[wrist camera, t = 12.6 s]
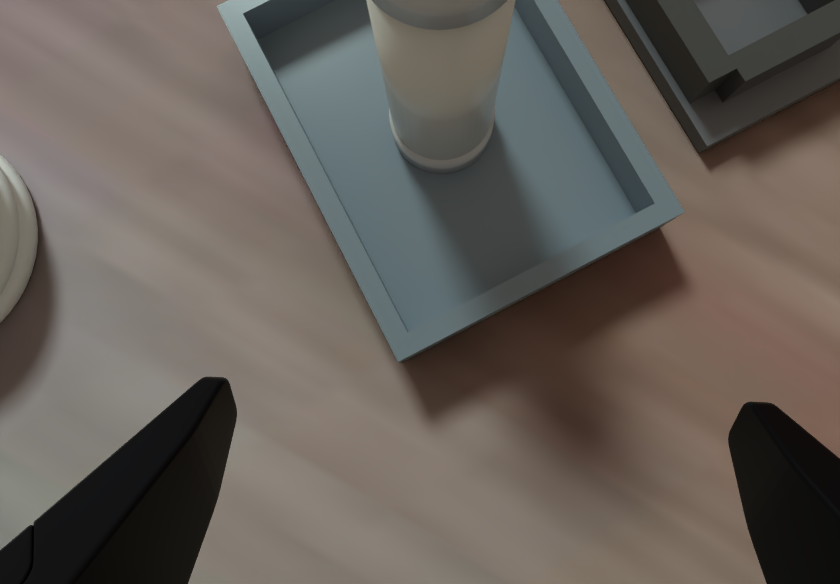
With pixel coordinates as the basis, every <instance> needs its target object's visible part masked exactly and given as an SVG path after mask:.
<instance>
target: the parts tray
mask: <svg viewBox="0 0 840 584" xmlns="http://www.w3.org/2000/svg"><path fill="white" fill-rule="evenodd" d="M217 8H218V10H219V12H220V14H221V16H222V18H223V20H224V22H225V23H226V25H227V27H228V29H229V31H230V33H231V35H232V37H233V39H234V41H235V43H236V45H237V47H238V49H239V51H240V53H241V55H242V57H243V59H244V61H245V63H246V65H247V67H248V69H249V71H250V73H251V74H252V76H253V78H254V80H255V82H256V84H257V86H258V88H259V90H260V92H261V94H262V96H263V98H264V100H265V102H266V104H267V106H268V108H269V110H270V112H271V114H272V116H273V118H274V120H275V122H276V124H277V126H278V127H279V129H280V131H281V133H282V135H283V137H284V139H285V141H286V143H287V145H288V147H289V149H290V151H291V153H292V155H293V157H294V159H295V161H296V163H297V165H298V167H299V169H300V171H301V173H302V175H303V177H304V178H305V180H306V182H307V184H308V186H309V188H310V190H311V192H312V194H313V196H314V198H315V200H316V202H317V204H318V206H319V208H320V210H321V212H322V214H323V216H324V218H325V220H326V222H327V224H328V226H329V228H330V230H331V231H332V233H333V235H334V237H335V239H336V241H337V243H338V245H339V247H340V249H341V251H342V253H343V255H344V257H345V259H346V261H347V263H348V265H349V267H350V269H351V271H352V273H353V275H354V277H355V279H356V281H357V282H358V284H359V286H360V288H361V290H362V292H363V294H364V296H365V298H366V300H367V302H368V304H369V306H370V308H371V310H372V312H373V314H374V316H375V318H376V320H377V322H378V324H379V326H380V328H381V330H382V332H383V333H384V335H385V337H386V339H387V341H388V343H389V345H390V347H391V349H392V351H393V353H394V355H395V357H396V359H397V361H398V362H404V361H406V360H408V359H410V358H412V357H414V356H416V355H418V354H420V353H421V352H423V351H425V350H427V349H429V348H431V347H433V346H435V345H437V344H439V343H441V342H442V341H444V340H446V339H448V338H450V337H452V336H454V335H456V334H458V333H460V332H462V331H463V330H465V329H467V328H469V327H471V326H473V325H475V324H477V323H479V322H481V321H483V320H485V319H486V318H488V317H490V316H492V315H494V314H496V313H498V312H500V311H502V310H504V309H506V308H507V307H509V306H511V305H513V304H515V303H517V302H519V301H521V300H523V299H525V298H527V297H528V296H530V295H532V294H534V293H536V292H538V291H540V290H542V289H544V288H546V287H548V286H550V285H551V284H553V283H555V282H557V281H559V280H561V279H563V278H565V277H567V276H569V275H571V274H572V273H574V272H576V271H578V270H580V269H582V268H584V267H586V266H588V265H590V264H592V263H593V262H595V261H597V260H599V259H601V258H603V257H605V256H607V255H609V254H611V253H613V252H615V251H616V250H618V249H620V248H622V247H624V246H626V245H628V244H630V243H632V242H634V241H636V240H637V239H639V238H641V237H643V236H645V235H647V234H649V233H651V232H653V231H655V230H657V229H659V228H660V227H662V226H664V225H665V224H667V223H668V222H670V221H671V220H673V219H675V218H676V217H678V216H679V215H681V214H683V213H684V212H685V211H684V210H683V208H682V206H681V205H680V203H679V201H678V200H677V198H676V196H675V195H674V193H673V191H672V190H671V188H670V186H669V185H668V183H667V181H666V180H665V178H664V176H663V175H662V173H661V171H660V170H659V168H658V166H657V165H656V163H655V161H654V160H653V158H652V156H651V155H650V153H649V151H648V150H647V148H646V147H645V145H644V143H643V142H642V140H641V138H640V137H639V135H638V133H637V132H636V130H635V128H634V127H633V125H632V123H631V122H630V120H629V118H628V117H627V115H626V113H625V112H624V110H623V108H622V107H621V105H620V103H619V102H618V100H617V98H616V97H615V95H614V93H613V92H612V90H611V88H610V87H609V85H608V83H607V82H606V80H605V78H604V77H603V75H602V73H601V72H600V70H599V68H598V67H597V65H596V63H595V62H594V60H593V58H592V57H591V55H590V53H589V52H588V50H587V48H586V47H585V45H584V43H583V42H582V40H581V38H580V37H579V35H578V33H577V32H576V30H575V28H574V27H573V25H572V23H571V22H570V20H569V18H568V17H567V15H566V13H565V12H564V10H563V8H562V7H561V5H560V3H559V2H558V0H515V5H514V10H513V15H512V20H511V25H510V30H509V36H508V41H507V46H506V51H505V56H504V61H503V66H502V71H501V76H500V81H499V86H498V91H497V97H496V102H495V120H494V125H493V130H492V134H491V138H490V141H489V144H488V146H487V148H486V150H485V151H484V153H483V154H482V155H481V157H480V158H479V159H478V160H477V161H476V162H474V163H473V164H472V165H470V166H469V167H467V168H465V169H463V170H461V171H458V172H454V173H449V174H434V173H429V172H425V171H423V170H420V169H418V168H416V167H415V166H413V165H412V164H410V163H409V162H408V161H407V160H406V159H405V158H404V157H403V156H402V155H401V153H400V152H399V150H398V148H397V146H396V144H395V141H394V138H393V134H392V130H391V125H390V120H389V104H388V99H387V95H386V90H385V85H384V81H383V76H382V71H381V67H380V62H379V57H378V53H377V48H376V44H375V39H374V34H373V30H372V25H371V20H370V16H369V11H368V6H367V2H366V0H228V1H226V2H224V3H222V4H220V5H218V6H217Z"/></svg>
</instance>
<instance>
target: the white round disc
mask: <svg viewBox="0 0 840 584" xmlns="http://www.w3.org/2000/svg"><path fill="white" fill-rule="evenodd" d="M37 245H38V225H37V219H36V212H35V208H34V205H33V202H32V198H31V196H30V194H29V191H28V189H27V187H26V185H25V183H24V182H23V180H22V179H21V177H20V176H19V174H18V173H17V171H16V170H15V169H14V168H13V167H12V166H11V165H10V164H9V162H8V161H7V160H6V159H5V158H4V157H2V156H1V155H0V323H1V322H2V321H3V320H4V319H5V317H6V316H7V315H8V314H9V313H10V312H11V310H12V309H13V308H14V306H15V305H16V304H17V302H18V301H19V299H20V297H21V295H22V294H23V292H24V290H25V288H26V286H27V284H28V281H29V279H30V276H31V274H32V271H33V267H34V263H35V259H36V253H37Z"/></svg>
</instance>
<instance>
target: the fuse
mask: <svg viewBox="0 0 840 584" xmlns="http://www.w3.org/2000/svg"><path fill="white" fill-rule="evenodd" d="M366 2H367V6H368V11H369V16H370V20H371V25H372V30H373V34H374V39H375V44H376V48H377V53H378V57H379V62H380V67H381V71H382V76H383V81H384V85H385V90H386V95H387V99H388V104H389V120H390V125H391V130H392V134H393V138H394V141H395V144H396V146H397V148H398V150H399V152H400V153H401V155H402V156H403V157H404V158H405V159H406V160H407V161H408V162H409V163H410V164H412V165H413V166H415V167H416V168H418V169H420V170H423V171H425V172H429V173H434V174H449V173H454V172H458V171H461V170H463V169H465V168H467V167H469V166H470V165H472V164H473V163H474V162H476V161H477V160H478V159H479V158H480V157H481V155H482V154H483V153H484V151H485V150H486V148H487V146H488V144H489V141H490V138H491V134H492V130H493V125H494V120H495V102H496V97H497V91H498V86H499V81H500V76H501V71H502V66H503V61H504V56H505V51H506V46H507V41H508V36H509V30H510V25H511V20H512V15H513V10H514V5H515V0H366Z"/></svg>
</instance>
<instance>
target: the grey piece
mask: <svg viewBox="0 0 840 584" xmlns="http://www.w3.org/2000/svg"><path fill="white" fill-rule="evenodd" d="M605 2H606V3H607V5H608V6H609V8H610V10H611V11H612V13H613V15H614V16H615V18H616V19H617V21H618V23H619V24H620V26H621V28H622V29H623V31H624V32H625V34H626V36H627V37H628V39H629V41H630V42H631V44H632V46H633V47H634V49H635V50H636V52H637V54H638V55H639V57H640V59H641V60H642V62H643V63H644V65H645V67H646V68H647V70H648V72H649V73H650V75H651V76H652V78H653V80H654V81H655V83H656V85H657V86H658V88H659V90H660V91H661V93H662V94H663V96H664V98H665V99H666V101H667V103H668V104H669V106H670V107H671V109H672V111H673V112H674V114H675V116H676V117H677V119H678V120H679V122H680V124H681V125H682V127H683V129H684V130H685V132H686V133H687V135H688V137H689V138H690V140H691V142H692V143H693V145H694V147H695V148H696V150H697V151H698V153H700V152H702V151H704V150H706V149H708V148H710V147H712V146H714V145H716V144H718V143H720V142H722V141H723V140H725V139H727V138H729V137H731V136H733V135H735V134H737V133H739V132H741V131H743V130H745V129H747V128H748V127H750V126H752V125H754V124H756V123H758V122H760V121H762V120H764V119H766V118H768V117H770V116H771V115H773V114H775V113H777V112H779V111H781V110H783V109H785V108H787V107H789V106H791V105H793V104H795V103H796V102H798V101H800V100H802V99H804V98H806V97H808V96H810V95H812V94H814V93H816V92H818V91H819V90H821V89H823V88H825V87H827V86H829V85H831V84H833V83H835V82H837V81H839V80H840V0H605Z"/></svg>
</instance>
